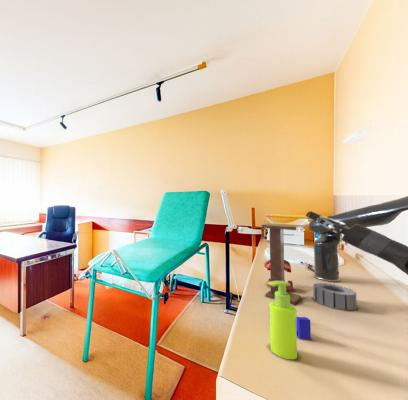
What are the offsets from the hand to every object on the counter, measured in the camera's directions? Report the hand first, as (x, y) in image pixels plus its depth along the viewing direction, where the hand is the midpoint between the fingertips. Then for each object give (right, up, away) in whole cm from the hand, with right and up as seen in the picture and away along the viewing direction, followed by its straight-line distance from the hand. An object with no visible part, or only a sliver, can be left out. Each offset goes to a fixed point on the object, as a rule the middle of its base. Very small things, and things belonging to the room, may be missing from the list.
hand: (308, 213), depth 87 cm
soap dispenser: (-33, -38, -27) cm, 57 cm away
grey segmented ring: (+12, -37, +1) cm, 39 cm away
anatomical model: (+3, -38, +17) cm, 42 cm away
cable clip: (-20, -38, -15) cm, 46 cm away
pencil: (-2, -2, +4) cm, 5 cm away
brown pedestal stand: (-4, -38, +7) cm, 38 cm away
